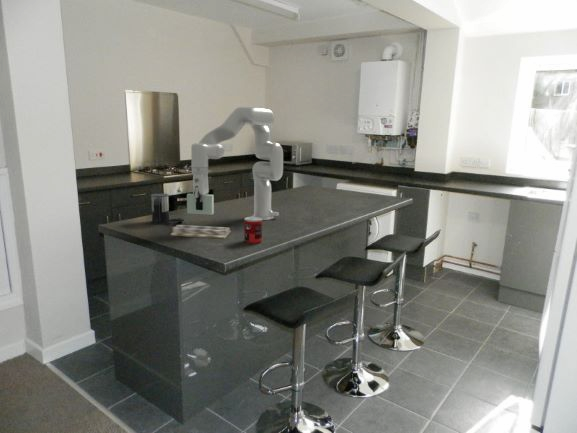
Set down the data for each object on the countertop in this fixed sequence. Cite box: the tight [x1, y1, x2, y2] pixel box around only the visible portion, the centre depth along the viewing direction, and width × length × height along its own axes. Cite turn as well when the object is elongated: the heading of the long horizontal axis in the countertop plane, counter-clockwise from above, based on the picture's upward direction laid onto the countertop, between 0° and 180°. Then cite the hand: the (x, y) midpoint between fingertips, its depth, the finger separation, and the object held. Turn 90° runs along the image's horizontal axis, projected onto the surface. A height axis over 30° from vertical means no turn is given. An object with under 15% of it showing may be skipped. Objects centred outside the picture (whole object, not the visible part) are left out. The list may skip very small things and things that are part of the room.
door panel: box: [186, 193, 215, 216], centre depth 198 cm, size 12×3×9 cm, turn 84°
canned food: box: [243, 216, 263, 245], centre depth 189 cm, size 8×8×11 cm
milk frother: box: [150, 193, 185, 225], centre depth 219 cm, size 14×16×15 cm
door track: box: [170, 224, 232, 239], centre depth 201 cm, size 26×12×3 cm, turn 84°
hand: (200, 208), depth 198 cm, fingers closed on door panel, 3 cm apart
